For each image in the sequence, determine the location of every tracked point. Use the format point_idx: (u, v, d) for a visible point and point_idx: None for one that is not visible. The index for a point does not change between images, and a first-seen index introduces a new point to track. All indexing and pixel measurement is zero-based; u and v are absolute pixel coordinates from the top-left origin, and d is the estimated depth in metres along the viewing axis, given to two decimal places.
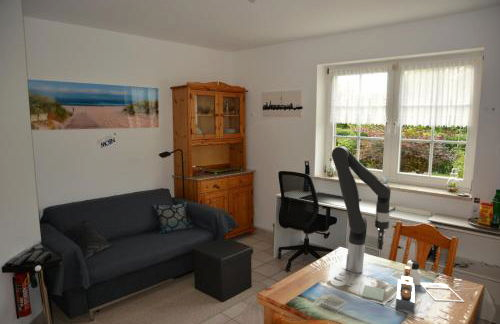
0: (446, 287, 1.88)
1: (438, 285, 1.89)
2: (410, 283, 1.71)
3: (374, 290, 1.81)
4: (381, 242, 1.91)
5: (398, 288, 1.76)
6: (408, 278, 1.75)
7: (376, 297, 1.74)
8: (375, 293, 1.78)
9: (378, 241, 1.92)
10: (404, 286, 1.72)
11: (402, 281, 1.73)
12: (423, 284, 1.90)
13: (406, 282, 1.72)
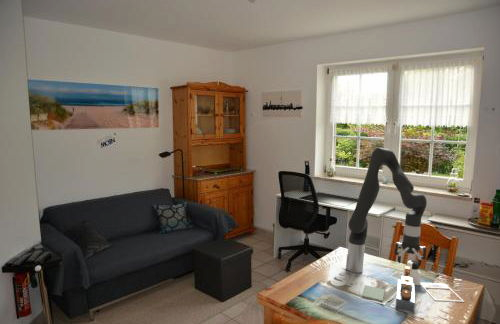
0: (446, 287, 1.88)
1: (438, 285, 1.89)
2: (410, 283, 1.71)
3: (374, 290, 1.81)
4: (425, 257, 1.70)
5: (398, 288, 1.76)
6: (408, 278, 1.75)
7: (376, 297, 1.74)
8: (375, 293, 1.78)
9: (425, 257, 1.69)
10: (404, 286, 1.72)
11: (402, 281, 1.73)
12: (423, 284, 1.90)
13: (406, 282, 1.72)
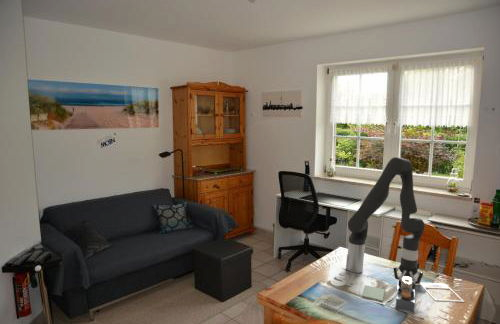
0: (446, 287, 1.88)
1: (438, 285, 1.89)
2: (410, 283, 1.71)
3: (374, 290, 1.81)
4: None
5: (398, 288, 1.76)
6: (408, 278, 1.75)
7: (376, 297, 1.74)
8: (375, 293, 1.78)
9: None
10: (404, 286, 1.72)
11: (402, 281, 1.73)
12: (423, 284, 1.90)
13: (406, 282, 1.72)
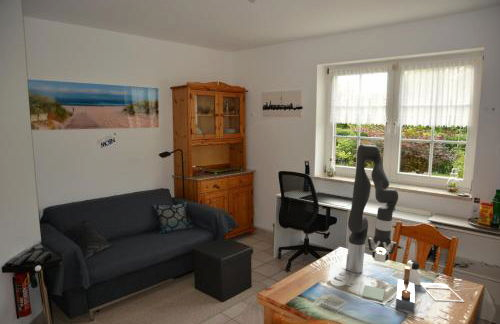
0: (446, 287, 1.88)
1: (438, 285, 1.89)
2: (384, 253, 1.73)
3: (374, 290, 1.81)
4: (392, 251, 1.74)
5: (398, 288, 1.76)
6: (382, 249, 1.76)
7: (376, 297, 1.74)
8: (375, 293, 1.78)
9: (392, 252, 1.73)
10: (378, 257, 1.73)
11: (376, 252, 1.74)
12: (423, 284, 1.90)
13: (380, 252, 1.74)
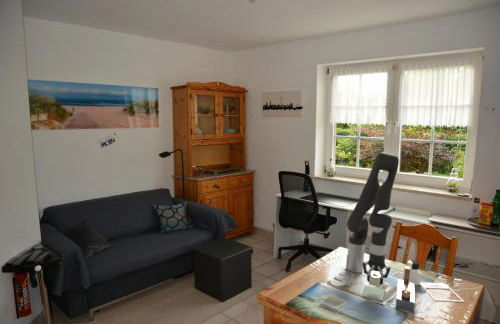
0: (446, 287, 1.88)
1: (438, 285, 1.89)
2: (378, 277, 1.75)
3: (374, 290, 1.81)
4: None
5: (398, 288, 1.76)
6: (377, 273, 1.78)
7: (376, 297, 1.74)
8: (375, 293, 1.78)
9: None
10: (372, 281, 1.75)
11: (370, 276, 1.77)
12: (423, 284, 1.90)
13: (374, 277, 1.76)
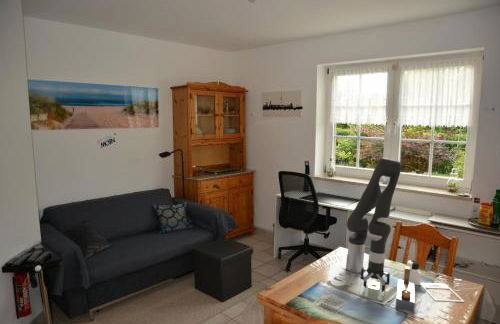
0: (446, 287, 1.88)
1: (438, 285, 1.89)
2: (377, 288, 1.76)
3: None
4: None
5: (398, 288, 1.76)
6: (375, 283, 1.79)
7: (376, 297, 1.74)
8: None
9: None
10: (371, 291, 1.76)
11: (369, 286, 1.77)
12: (423, 284, 1.90)
13: (373, 287, 1.77)
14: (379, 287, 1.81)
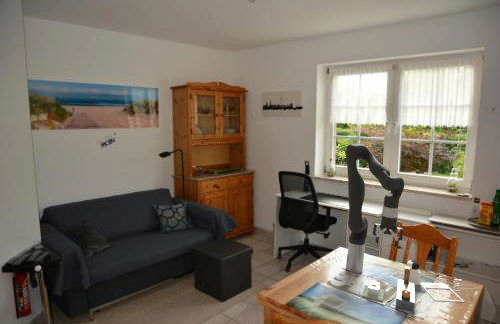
0: (446, 287, 1.88)
1: (438, 285, 1.89)
2: (377, 288, 1.76)
3: None
4: None
5: (398, 288, 1.76)
6: (375, 283, 1.79)
7: (376, 297, 1.74)
8: None
9: None
10: (371, 291, 1.76)
11: (369, 286, 1.77)
12: (423, 284, 1.90)
13: (373, 287, 1.77)
14: (379, 287, 1.81)
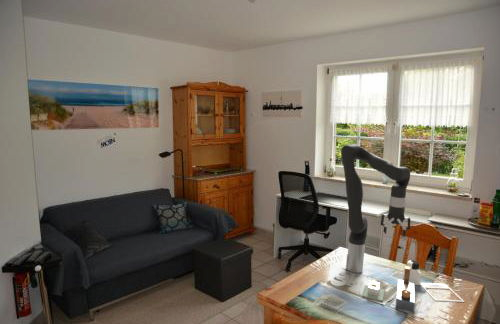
0: (446, 287, 1.88)
1: (438, 285, 1.89)
2: (377, 288, 1.76)
3: None
4: (409, 227, 1.78)
5: (398, 288, 1.76)
6: (375, 283, 1.79)
7: (376, 297, 1.74)
8: None
9: None
10: (371, 291, 1.76)
11: (369, 286, 1.77)
12: (423, 284, 1.90)
13: (373, 287, 1.77)
14: (379, 287, 1.81)
